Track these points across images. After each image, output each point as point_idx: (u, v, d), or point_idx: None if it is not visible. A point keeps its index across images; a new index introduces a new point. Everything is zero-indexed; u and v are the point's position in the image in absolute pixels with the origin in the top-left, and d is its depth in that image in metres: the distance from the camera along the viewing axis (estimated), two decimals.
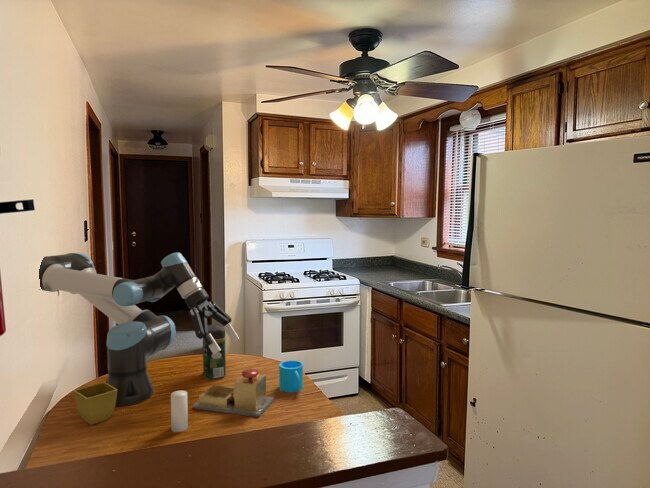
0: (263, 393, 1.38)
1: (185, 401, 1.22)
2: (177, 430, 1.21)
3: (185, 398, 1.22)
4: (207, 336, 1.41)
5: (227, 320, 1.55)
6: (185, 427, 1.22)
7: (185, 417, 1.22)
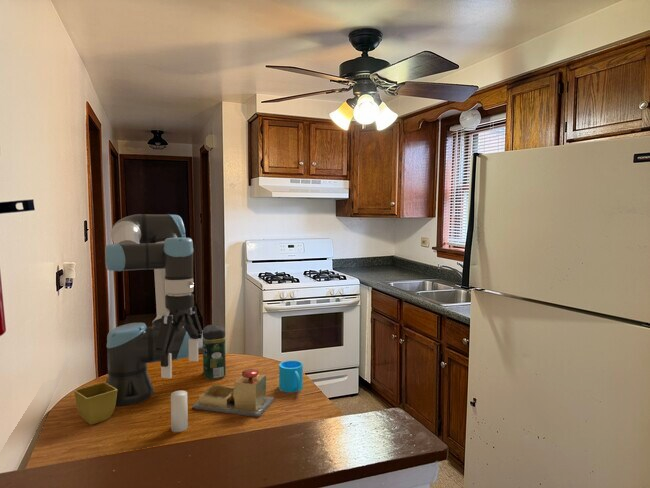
0: (263, 393, 1.38)
1: (185, 401, 1.22)
2: (177, 430, 1.21)
3: (185, 398, 1.22)
4: (166, 356, 1.14)
5: (197, 335, 1.29)
6: (185, 427, 1.22)
7: (185, 417, 1.22)
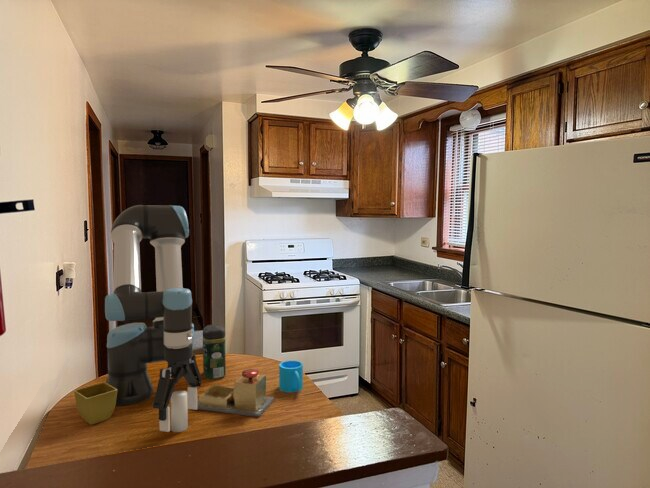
0: (263, 393, 1.38)
1: (185, 401, 1.22)
2: (177, 430, 1.21)
3: (185, 398, 1.22)
4: (164, 410, 1.15)
5: (196, 383, 1.29)
6: (185, 427, 1.22)
7: (185, 417, 1.22)
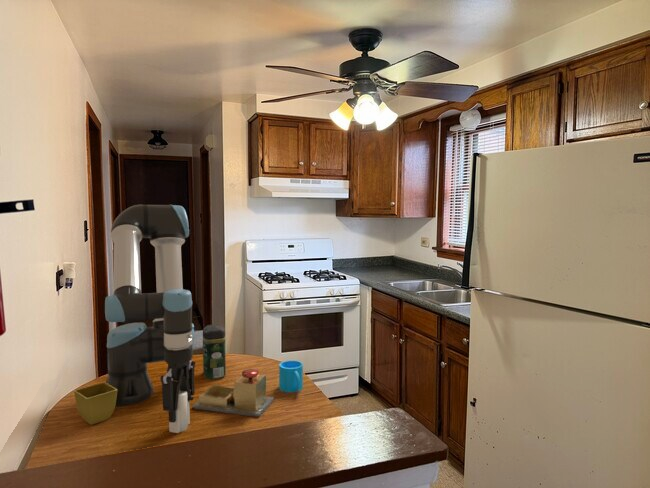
0: (263, 393, 1.38)
1: (185, 401, 1.22)
2: None
3: (185, 398, 1.22)
4: (174, 412, 1.19)
5: (189, 396, 1.25)
6: (185, 427, 1.22)
7: (185, 417, 1.22)
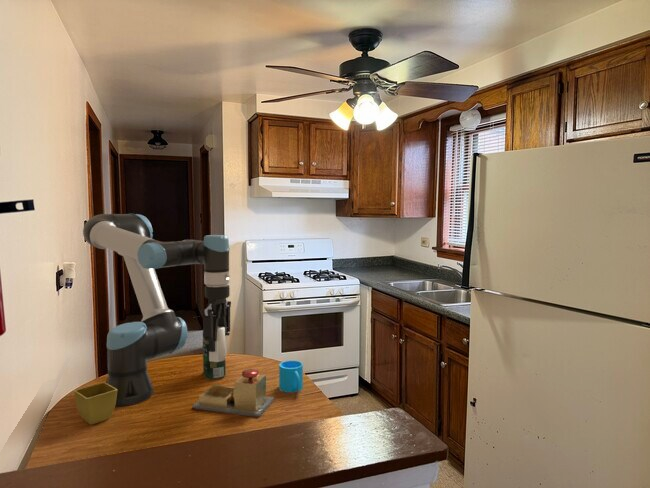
0: (263, 393, 1.38)
1: (223, 334, 1.36)
2: None
3: (223, 332, 1.36)
4: (213, 343, 1.34)
5: (226, 331, 1.40)
6: (223, 358, 1.36)
7: (223, 348, 1.36)
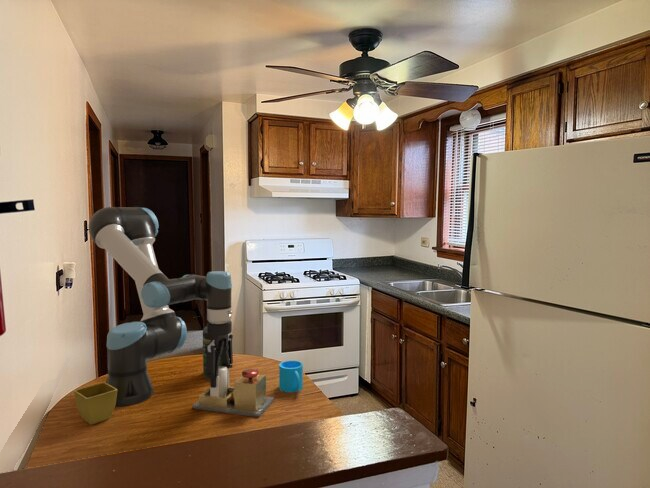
0: (263, 393, 1.38)
1: (225, 375, 1.38)
2: None
3: (225, 372, 1.38)
4: (215, 379, 1.35)
5: (228, 364, 1.42)
6: None
7: (225, 389, 1.39)
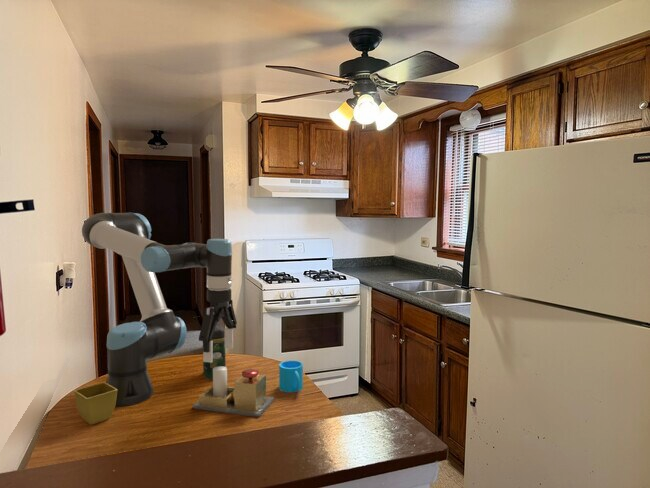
0: (263, 393, 1.38)
1: (225, 375, 1.38)
2: None
3: (225, 372, 1.38)
4: (208, 343, 1.31)
5: (232, 325, 1.45)
6: None
7: (225, 389, 1.39)
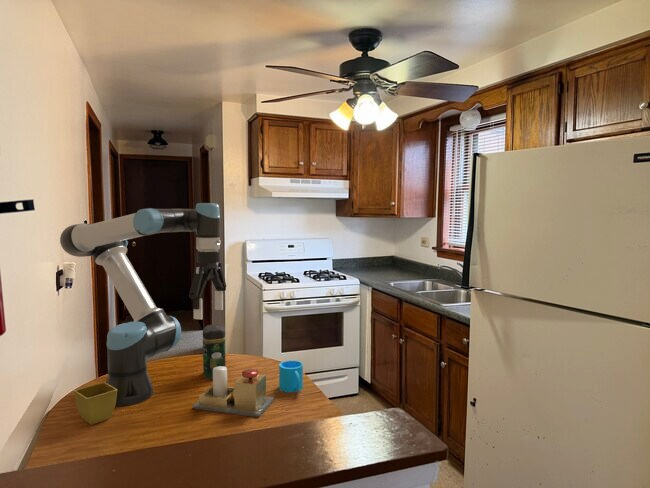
0: (263, 393, 1.38)
1: (225, 375, 1.38)
2: None
3: (225, 372, 1.38)
4: (198, 301, 1.37)
5: (222, 287, 1.51)
6: None
7: (225, 389, 1.39)
